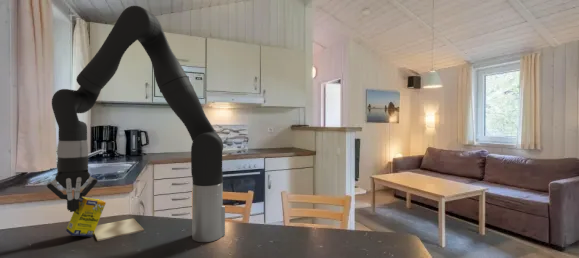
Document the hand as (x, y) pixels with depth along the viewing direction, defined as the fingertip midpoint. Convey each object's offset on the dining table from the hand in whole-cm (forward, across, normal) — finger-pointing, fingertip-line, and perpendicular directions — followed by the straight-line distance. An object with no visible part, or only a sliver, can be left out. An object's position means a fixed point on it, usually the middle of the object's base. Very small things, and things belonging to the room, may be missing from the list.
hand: (73, 211), depth 88 cm
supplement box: (+8, +2, 0) cm, 8 cm away
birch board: (+9, +12, 0) cm, 15 cm away
